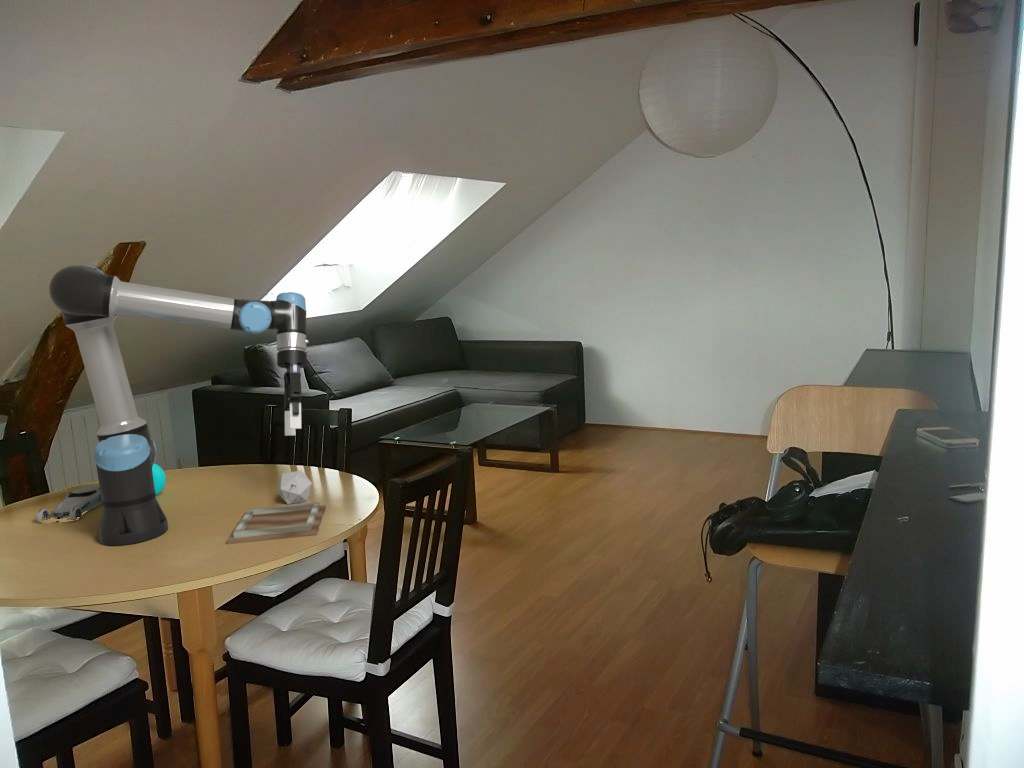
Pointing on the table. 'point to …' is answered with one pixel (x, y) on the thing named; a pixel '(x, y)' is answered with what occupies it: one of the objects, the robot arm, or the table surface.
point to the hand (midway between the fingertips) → (292, 432)
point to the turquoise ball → (158, 478)
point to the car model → (74, 504)
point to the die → (294, 487)
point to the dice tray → (278, 522)
